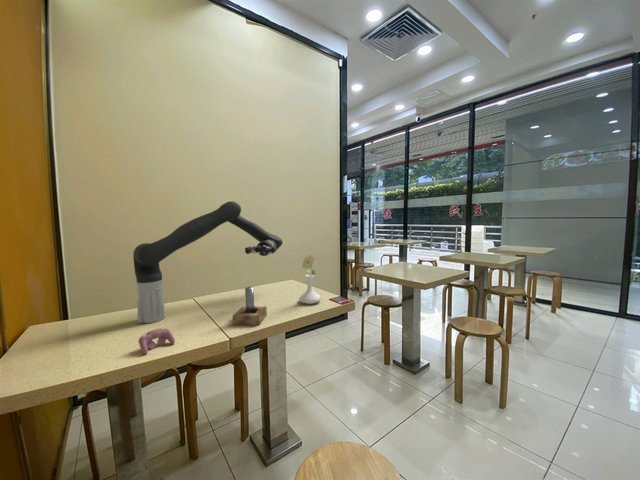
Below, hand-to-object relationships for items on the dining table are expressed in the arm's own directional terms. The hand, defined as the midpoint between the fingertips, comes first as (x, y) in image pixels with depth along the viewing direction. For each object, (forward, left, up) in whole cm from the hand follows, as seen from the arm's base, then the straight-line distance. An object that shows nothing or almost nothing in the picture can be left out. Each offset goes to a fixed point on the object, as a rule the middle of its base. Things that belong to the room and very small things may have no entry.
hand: (256, 251), depth 120 cm
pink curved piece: (-39, -19, -28) cm, 52 cm away
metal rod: (-6, -10, -28) cm, 30 cm away
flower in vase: (+26, -1, -28) cm, 39 cm away
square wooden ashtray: (-6, -10, -28) cm, 30 cm away
